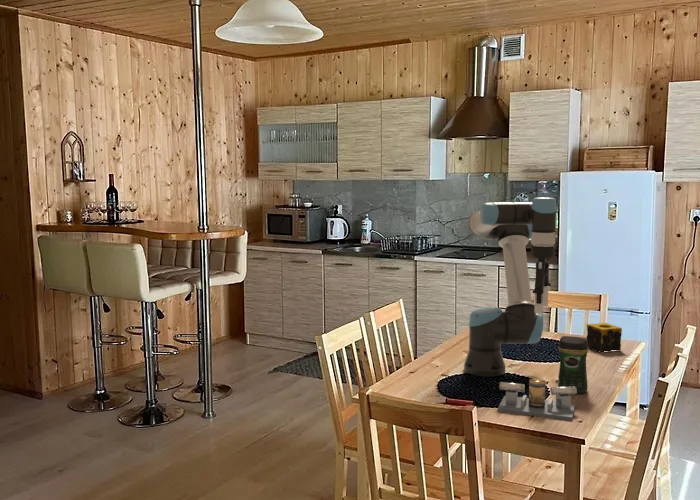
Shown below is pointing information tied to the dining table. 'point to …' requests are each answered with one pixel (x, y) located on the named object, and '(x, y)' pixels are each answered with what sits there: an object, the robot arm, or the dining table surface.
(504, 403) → the grey mounting plate
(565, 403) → the shaft right
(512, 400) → the shaft left
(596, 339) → the candle
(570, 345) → the coffee jar
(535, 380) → the cylinder
